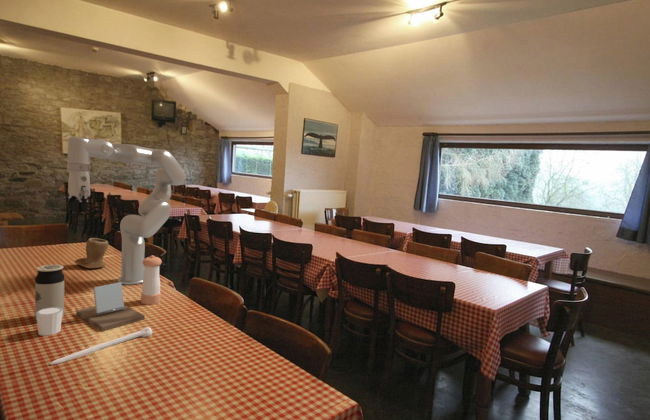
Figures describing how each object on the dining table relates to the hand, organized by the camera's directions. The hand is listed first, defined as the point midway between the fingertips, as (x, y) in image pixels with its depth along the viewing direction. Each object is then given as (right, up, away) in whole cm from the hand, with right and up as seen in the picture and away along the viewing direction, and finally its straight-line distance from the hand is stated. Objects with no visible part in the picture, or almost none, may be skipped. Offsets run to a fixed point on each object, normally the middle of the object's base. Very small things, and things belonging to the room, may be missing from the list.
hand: (77, 210), depth 146 cm
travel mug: (+4, -38, -20) cm, 43 cm away
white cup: (+12, -39, -30) cm, 51 cm away
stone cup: (-22, -30, +44) cm, 57 cm away
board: (+23, -38, -16) cm, 47 cm away
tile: (+22, -32, -16) cm, 42 cm away
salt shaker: (+29, -37, +2) cm, 47 cm away
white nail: (+35, -42, -37) cm, 66 cm away
